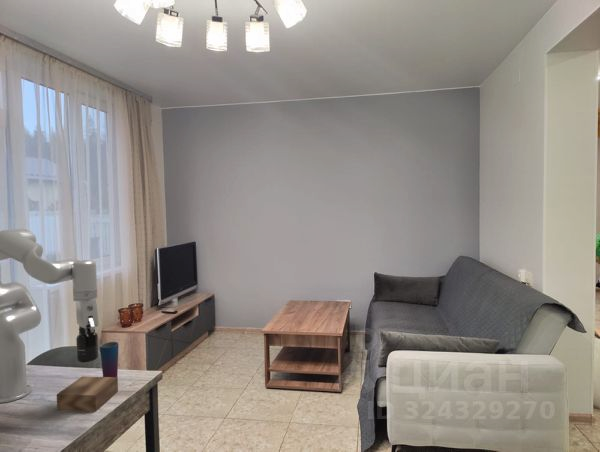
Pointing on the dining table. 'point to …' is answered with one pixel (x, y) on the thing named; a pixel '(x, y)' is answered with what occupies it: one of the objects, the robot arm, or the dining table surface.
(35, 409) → the dining table surface
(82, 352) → the supplement bottle
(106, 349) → the cup
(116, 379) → the walnut block
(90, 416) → the dining table surface
